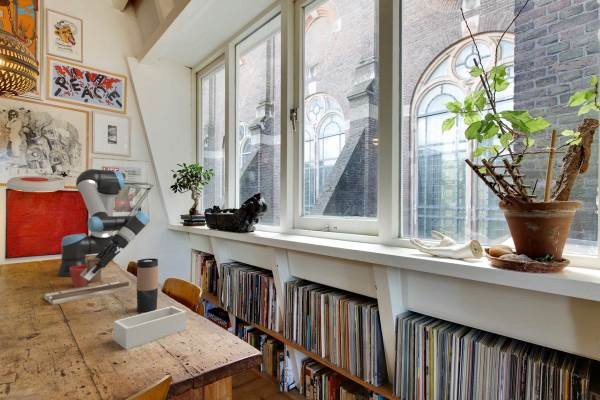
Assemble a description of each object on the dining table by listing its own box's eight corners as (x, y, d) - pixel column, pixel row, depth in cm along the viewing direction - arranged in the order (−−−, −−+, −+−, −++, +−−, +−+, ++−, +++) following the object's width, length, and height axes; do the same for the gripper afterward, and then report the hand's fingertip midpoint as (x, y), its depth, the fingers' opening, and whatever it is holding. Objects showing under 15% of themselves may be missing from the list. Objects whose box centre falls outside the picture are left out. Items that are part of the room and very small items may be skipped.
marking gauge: (83, 284, 146) (83, 259, 146) (98, 282, 150) (98, 257, 150) (88, 287, 142) (88, 260, 142) (103, 284, 146) (103, 258, 146)
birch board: (44, 298, 140) (44, 289, 140) (117, 285, 163) (117, 277, 163) (52, 305, 131) (52, 295, 131) (128, 290, 154) (128, 282, 154)
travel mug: (161, 306, 130) (161, 258, 130) (150, 313, 122) (151, 262, 123) (143, 306, 131) (144, 258, 131) (132, 312, 123) (132, 261, 123)
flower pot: (85, 288, 156) (86, 269, 156) (64, 288, 156) (64, 268, 157) (99, 283, 167) (100, 264, 167) (79, 282, 167) (79, 264, 167)
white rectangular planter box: (113, 340, 99) (113, 321, 99) (172, 322, 114) (172, 305, 114) (126, 349, 93) (126, 329, 93) (186, 329, 108) (186, 311, 108)
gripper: (136, 244, 152) (98, 285, 139) (121, 241, 163) (84, 279, 150) (124, 234, 148) (84, 276, 135) (110, 231, 159) (71, 270, 146)
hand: (84, 277), depth 143 cm, fingers closed on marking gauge, 4 cm apart
